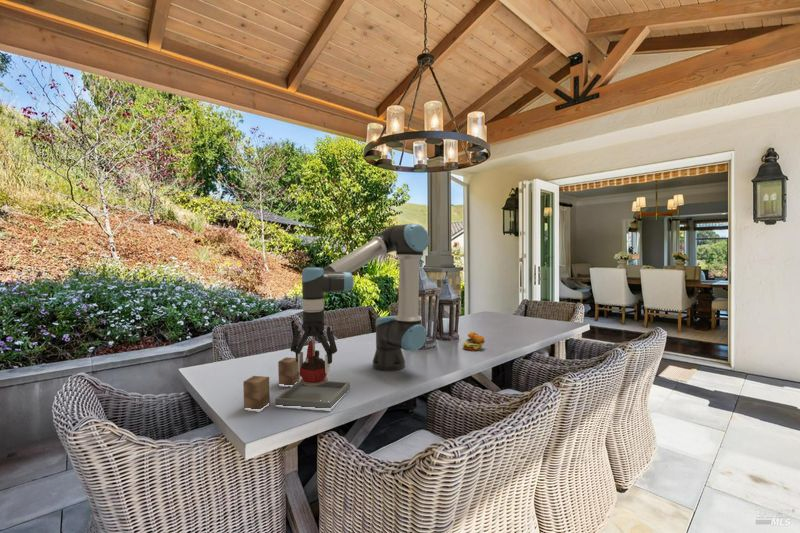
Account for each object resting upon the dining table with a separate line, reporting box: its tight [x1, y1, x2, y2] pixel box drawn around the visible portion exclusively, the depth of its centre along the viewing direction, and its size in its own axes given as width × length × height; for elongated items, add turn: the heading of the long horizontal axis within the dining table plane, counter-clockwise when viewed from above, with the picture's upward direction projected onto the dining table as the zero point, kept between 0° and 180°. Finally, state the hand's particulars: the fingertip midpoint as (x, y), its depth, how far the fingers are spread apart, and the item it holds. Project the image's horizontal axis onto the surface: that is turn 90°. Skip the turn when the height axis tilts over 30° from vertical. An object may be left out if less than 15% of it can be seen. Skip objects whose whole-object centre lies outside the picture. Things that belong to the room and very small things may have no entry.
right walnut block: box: [277, 357, 301, 385], centre depth 153 cm, size 6×6×10 cm
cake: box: [300, 336, 329, 386], centre depth 138 cm, size 11×9×18 cm
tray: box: [274, 379, 351, 408], centre depth 139 cm, size 20×20×3 cm
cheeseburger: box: [462, 331, 486, 352], centre depth 205 cm, size 10×11×10 cm
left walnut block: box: [242, 375, 271, 409], centre depth 131 cm, size 6×6×10 cm
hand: (314, 371), depth 138 cm, fingers closed on cake, 10 cm apart
